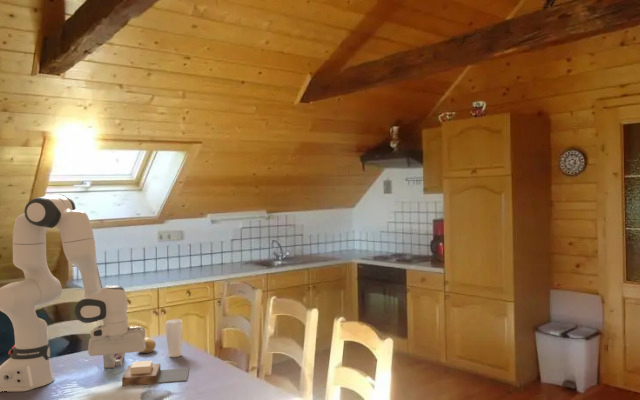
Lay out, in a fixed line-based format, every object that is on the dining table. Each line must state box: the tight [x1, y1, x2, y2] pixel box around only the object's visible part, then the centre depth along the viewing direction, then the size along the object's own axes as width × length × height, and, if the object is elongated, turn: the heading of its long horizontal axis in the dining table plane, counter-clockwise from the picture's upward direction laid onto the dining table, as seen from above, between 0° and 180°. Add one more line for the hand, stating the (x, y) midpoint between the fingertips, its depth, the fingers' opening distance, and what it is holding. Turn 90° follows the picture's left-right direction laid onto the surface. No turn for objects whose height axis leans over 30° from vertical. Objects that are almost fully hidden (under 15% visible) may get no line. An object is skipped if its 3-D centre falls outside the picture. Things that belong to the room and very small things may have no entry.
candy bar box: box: [102, 354, 125, 369], centre depth 233 cm, size 11×5×16 cm, turn 0°
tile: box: [130, 360, 153, 374], centre depth 215 cm, size 7×7×2 cm
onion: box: [139, 336, 157, 354], centre depth 249 cm, size 8×8×7 cm
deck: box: [121, 363, 161, 387], centre depth 215 cm, size 12×14×3 cm
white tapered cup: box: [165, 318, 183, 358], centre depth 242 cm, size 7×7×15 cm
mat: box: [156, 367, 190, 384], centre depth 217 cm, size 11×14×1 cm
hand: (118, 365), depth 213 cm, fingers closed
